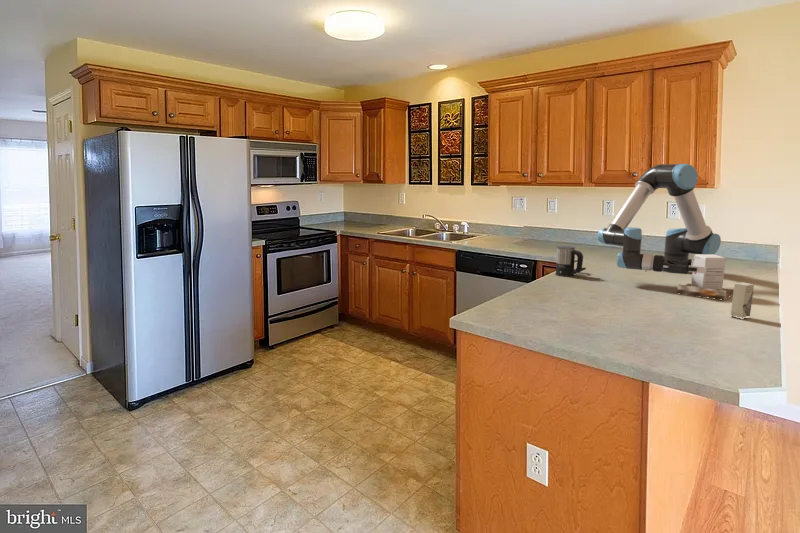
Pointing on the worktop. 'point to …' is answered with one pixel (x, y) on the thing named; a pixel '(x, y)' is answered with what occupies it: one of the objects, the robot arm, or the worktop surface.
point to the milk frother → (568, 261)
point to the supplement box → (709, 271)
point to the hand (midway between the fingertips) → (707, 267)
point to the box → (742, 299)
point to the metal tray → (704, 292)
